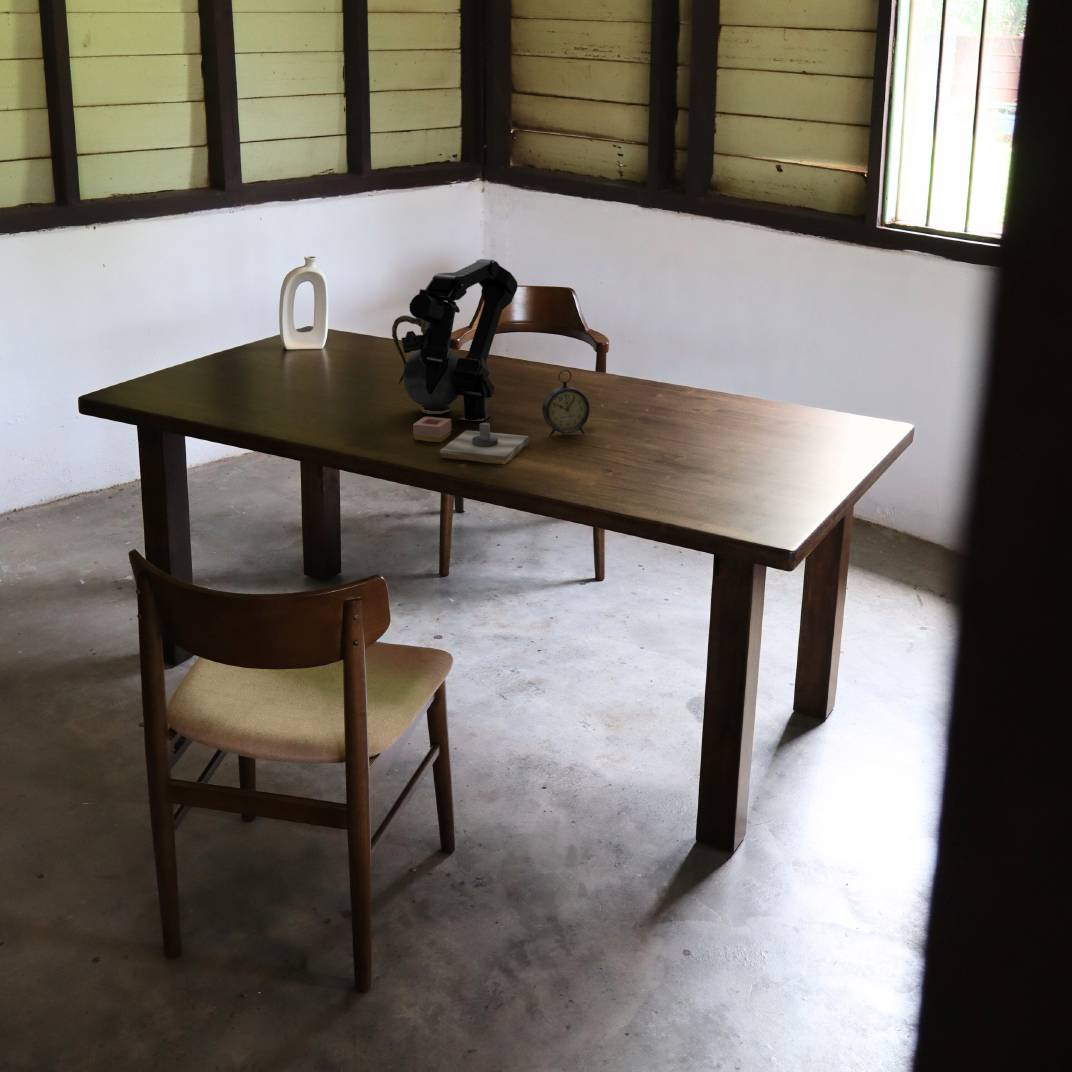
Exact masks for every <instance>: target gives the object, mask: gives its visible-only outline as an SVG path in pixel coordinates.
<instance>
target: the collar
mask: <svg viewBox="0 0 1072 1072" xmlns="http://www.w3.org/2000/svg"><path fill="white" fill-rule="evenodd" d="M412 428H413V429H412V430H413V431H412V432H413V434H414V435H420V436H425V437H436V438H441V437H443V436H444V435H446V434H447V433H448V432H450V431H452V419H451V418H444V417H435V416H423V417H422V418H420V419H419V420H417V421H416V422H415V423H413V424H412ZM452 432H453V431H452ZM414 435H413V436H414Z"/></svg>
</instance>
